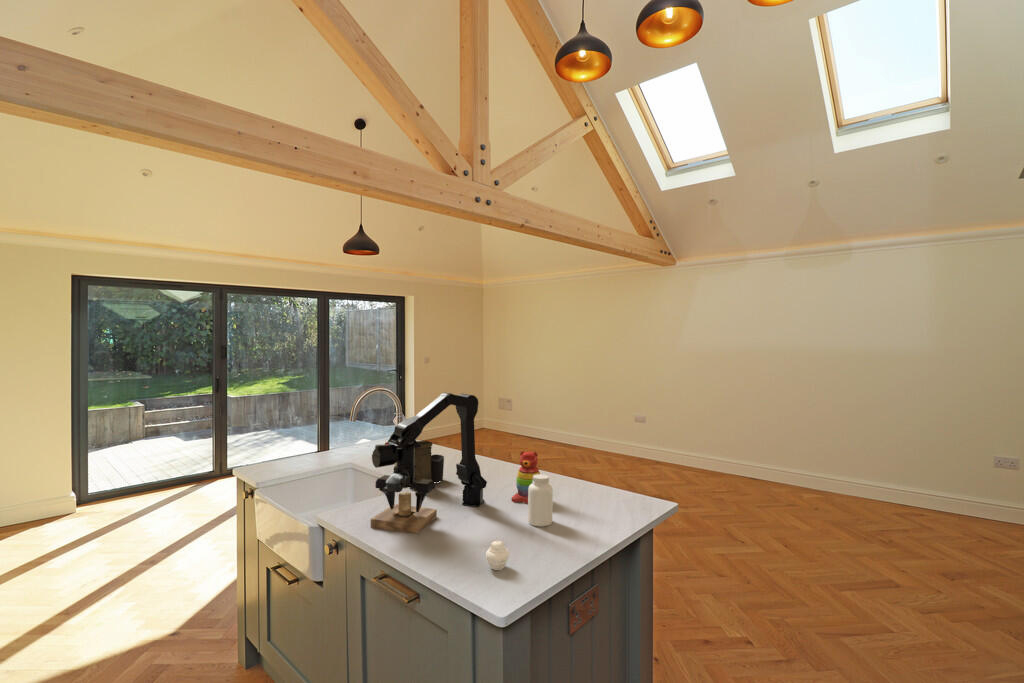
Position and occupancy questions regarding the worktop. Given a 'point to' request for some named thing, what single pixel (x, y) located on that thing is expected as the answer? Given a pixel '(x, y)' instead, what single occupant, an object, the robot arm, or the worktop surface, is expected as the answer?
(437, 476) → the pen holder
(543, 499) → the pill bottle
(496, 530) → the worktop surface
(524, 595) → the worktop surface
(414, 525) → the board
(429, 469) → the container
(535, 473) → the stacking bear
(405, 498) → the peg
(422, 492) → the robot arm
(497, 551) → the cream rounded piece
